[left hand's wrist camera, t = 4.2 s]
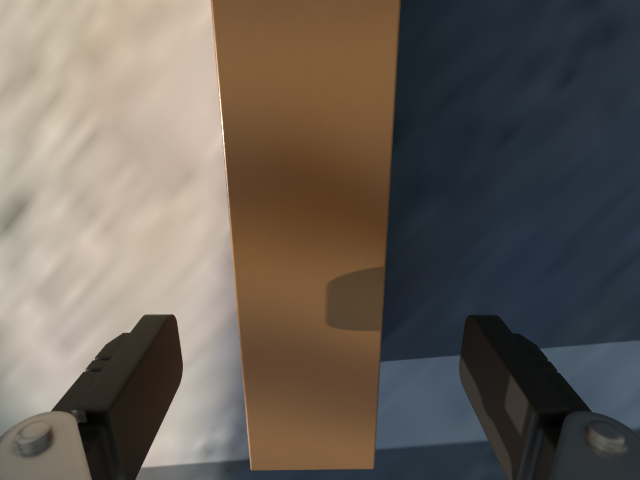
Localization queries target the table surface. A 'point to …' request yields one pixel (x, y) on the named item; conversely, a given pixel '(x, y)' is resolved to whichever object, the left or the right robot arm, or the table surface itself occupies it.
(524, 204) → the table surface
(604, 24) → the table surface
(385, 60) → the bar
